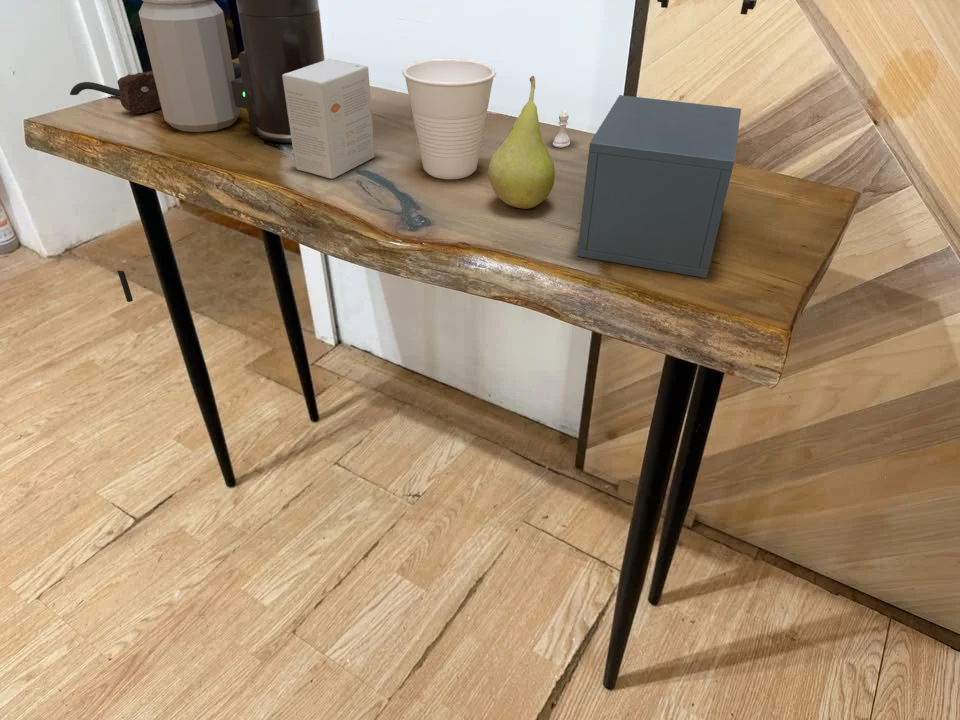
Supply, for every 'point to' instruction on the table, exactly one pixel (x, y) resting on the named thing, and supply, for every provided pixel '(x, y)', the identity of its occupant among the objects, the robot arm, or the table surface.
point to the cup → (449, 112)
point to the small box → (329, 117)
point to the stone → (139, 92)
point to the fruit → (523, 162)
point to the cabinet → (658, 184)
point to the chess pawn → (562, 132)
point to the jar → (190, 63)
